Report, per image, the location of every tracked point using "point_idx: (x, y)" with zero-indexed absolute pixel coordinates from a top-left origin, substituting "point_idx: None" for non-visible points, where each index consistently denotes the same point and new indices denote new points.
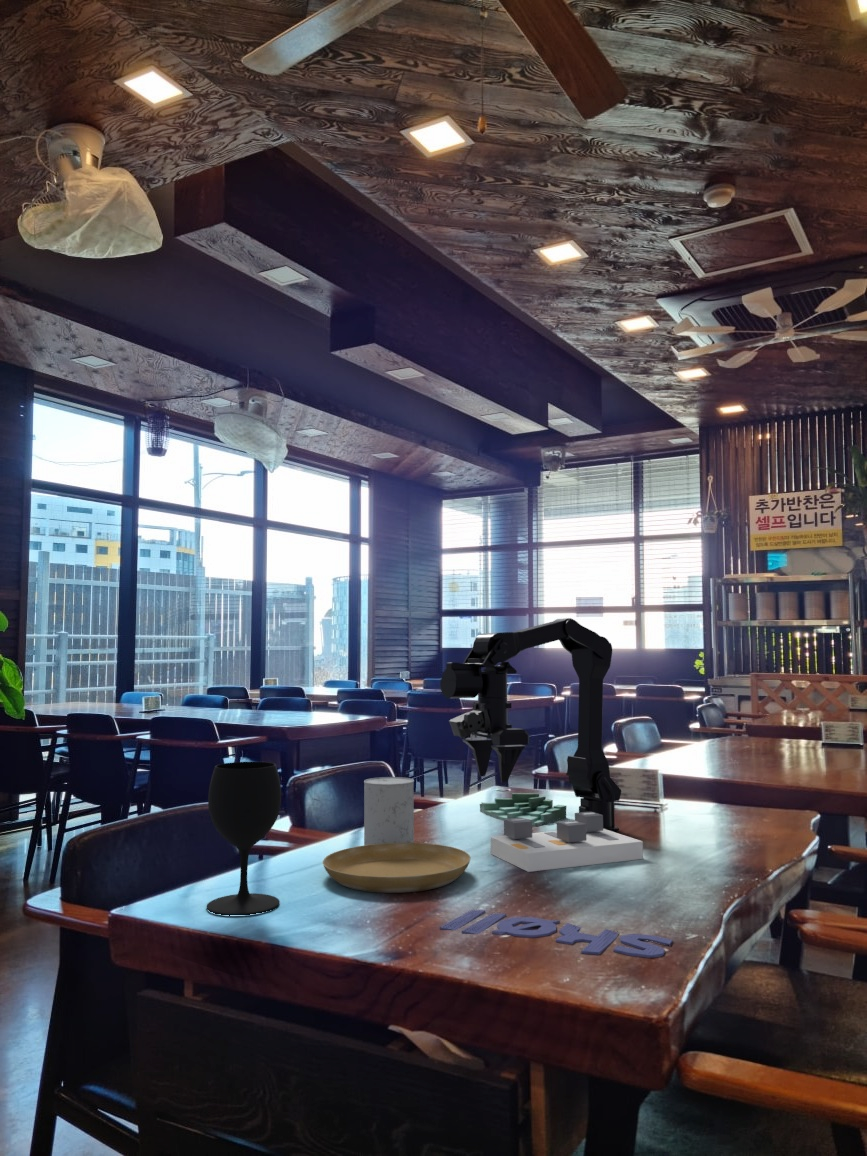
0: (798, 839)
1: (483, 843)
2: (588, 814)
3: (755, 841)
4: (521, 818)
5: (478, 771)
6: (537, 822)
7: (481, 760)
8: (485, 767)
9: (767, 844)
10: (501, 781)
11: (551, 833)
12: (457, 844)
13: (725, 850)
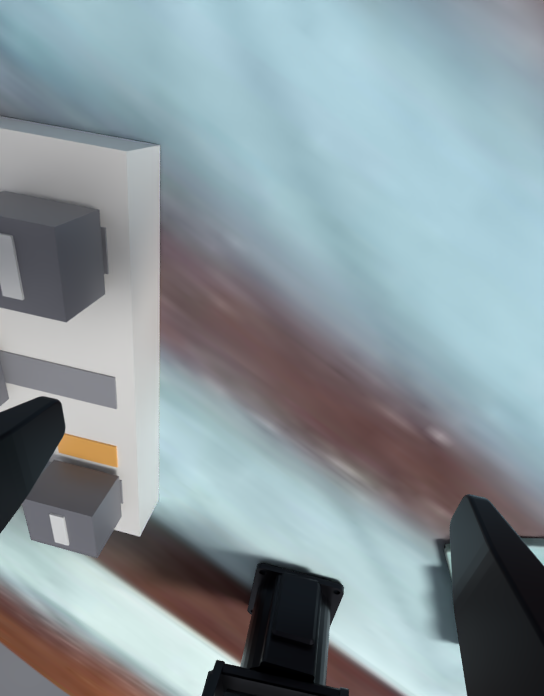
0: (58, 679)
1: (344, 243)
2: (53, 523)
3: (64, 648)
4: (43, 307)
5: (507, 528)
6: (448, 557)
7: (517, 675)
8: (465, 604)
9: (39, 641)
10: (47, 398)
11: (94, 387)
12: (404, 123)
13: (15, 585)
